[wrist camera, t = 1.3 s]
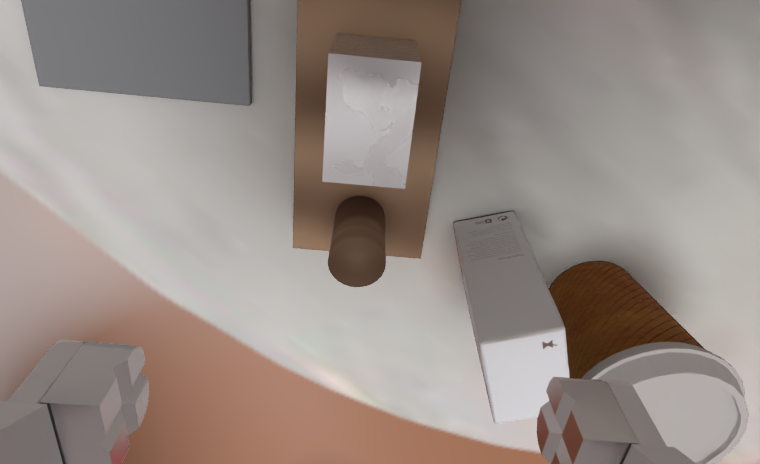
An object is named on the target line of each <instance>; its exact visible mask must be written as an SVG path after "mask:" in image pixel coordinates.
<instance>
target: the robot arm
mask: <svg viewBox="0 0 760 464" xmlns="http://www.w3.org/2000/svg"><path fill="white" fill-rule="evenodd" d="M144 363H145V359H144V353H143V349H142V348H140V347H138V346H130V345H119V344H109V343H99V342H82V341H72V340H63V339H61V340H59V341H57V342H56V343H54V344H53V345H52V346H51V347H50V349H49V350H48V351H47V353H46V354H45V355H44V356H43V357H42V359H41V360H40V361H39V362H38V364H37V365H36V366H35V367H34V369H33V370H32V371H31V372H30V374H29V375H28V376H27V378H26V379H25V380H24V381H23V382H22V384H21V385H20V386H19V387H18V389H17V390H16V391H15V392H14V394H13V395H12V396H11V397H10V399H9V400H8V401H0V464H121V463H122V461H123V459H124V457H125V455H126V453H127V451H128V449H129V441H128V435H129V434H131V433H132V432H133V431H135V430H136V429H138V428H139V426H140V424H141V422H142V420H143V418H144V416H145V412H146V408H147V404H148V400H149V385H148V379H147V378H146V377H145V376H144V375H143V374H142V373H141V372H140V371H141V369H142V367H143V365H144ZM546 392H547V395H548V398H549V400H550V401H548V402H547V403H546V404H544V405H543V406H542V407H541V408H540V412H539V415H538V419H537V438H538V444H539V448H540V451H541V455H542V456H543V457H545V458H546V459H547V460H548V461H549V462H550V463H551V464H696V463H695V462H694V461H692V460H691V459H690V458H688V457H687V456H686V455H684V454H683V453H682V452H680V451H679V450H678V449H676V448H675V447H667V445H666V444H665V442H664V440H663V438H662V437H661V435H660V433H659V431H658V429H657V428H656V426H655V424H654V422H653V421H652V419H651V417H650V415H649V414H648V412H647V410H646V408H645V406H644V405H643V403H642V401H641V399H640V398H639V396H638V394H637V392H636V391H635V389H634V387H633V385H632V384H630V383H629V382H628V381H617V380H595V379H580V378H565V377H553V378H552V379H551V380H550V382H549V384H548V387H547V390H546Z"/></svg>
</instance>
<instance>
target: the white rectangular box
mask: <svg viewBox="0 0 760 464" xmlns="http://www.w3.org/2000/svg"><path fill="white" fill-rule="evenodd" d="M421 64H422V62H421V58H420V55H419V51H418V48H417V44H416V41H415V40H407V39H397V38H388V37H378V36H368V35H358V34H348V33H338V32H337V33H336V36H335V38H334V41H333V43H332V45H331V48H330V50H329V53H328V71H327V92H326V113H325V134H324V156H323V177H322V182H333V183H344V184H355V185H367V186H378V187H389V188H400V189H405V186H406V178H407V171H408V163H409V155H410V148H411V140H412V132H413V125H414V117H415V109H416V102H417V94H418V86H419V79H420V71H421Z"/></svg>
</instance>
